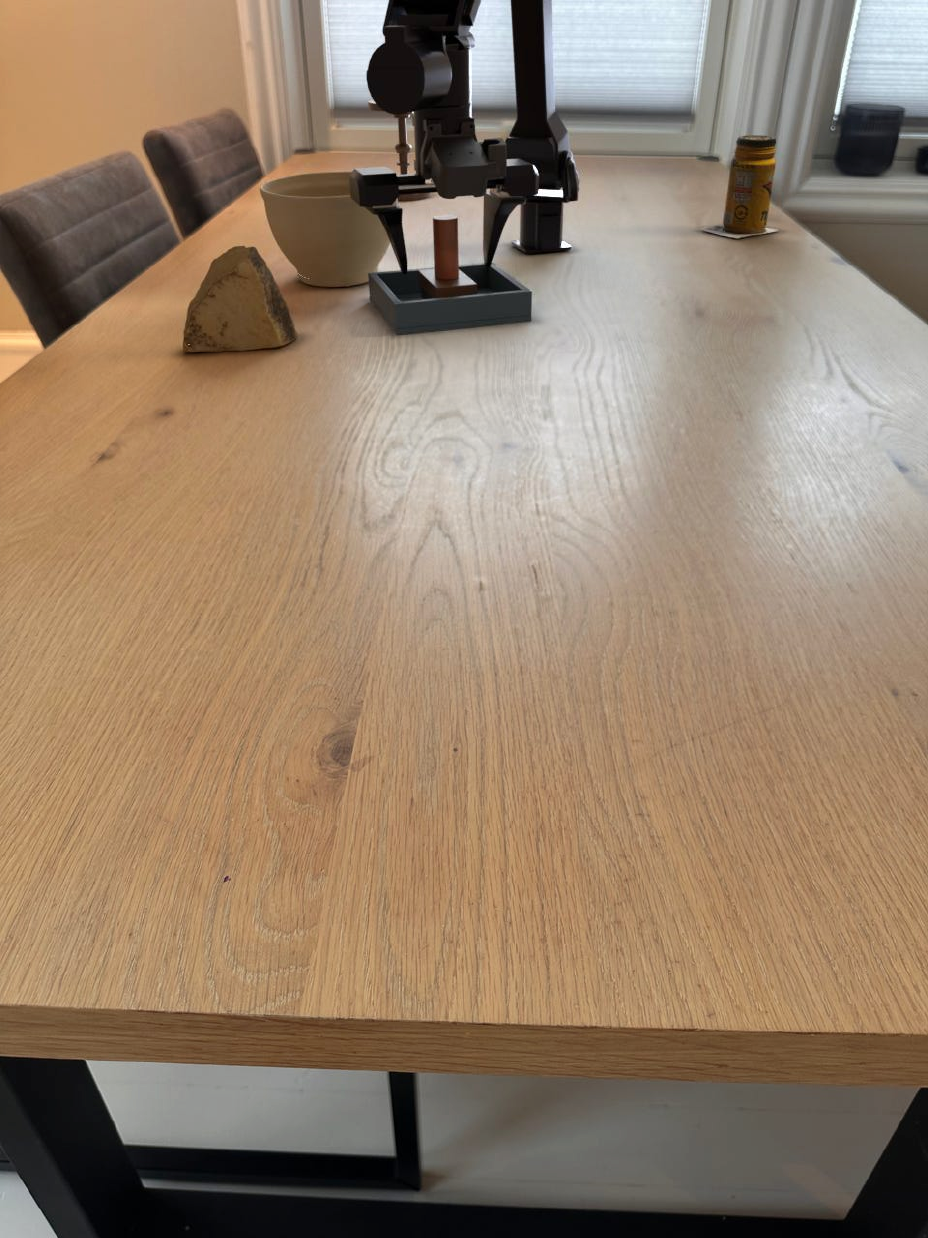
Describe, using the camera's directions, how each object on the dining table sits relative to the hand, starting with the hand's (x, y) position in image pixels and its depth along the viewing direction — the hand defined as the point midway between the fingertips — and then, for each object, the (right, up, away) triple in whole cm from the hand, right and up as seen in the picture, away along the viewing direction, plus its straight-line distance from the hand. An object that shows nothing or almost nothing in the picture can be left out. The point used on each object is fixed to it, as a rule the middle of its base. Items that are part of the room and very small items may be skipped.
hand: (446, 269), depth 101 cm
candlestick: (-8, +36, +62) cm, 72 cm away
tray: (0, -4, +2) cm, 4 cm away
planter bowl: (-14, +4, +15) cm, 21 cm away
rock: (-21, -10, -7) cm, 24 cm away
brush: (0, -3, +2) cm, 4 cm away
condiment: (+41, +18, +34) cm, 56 cm away
